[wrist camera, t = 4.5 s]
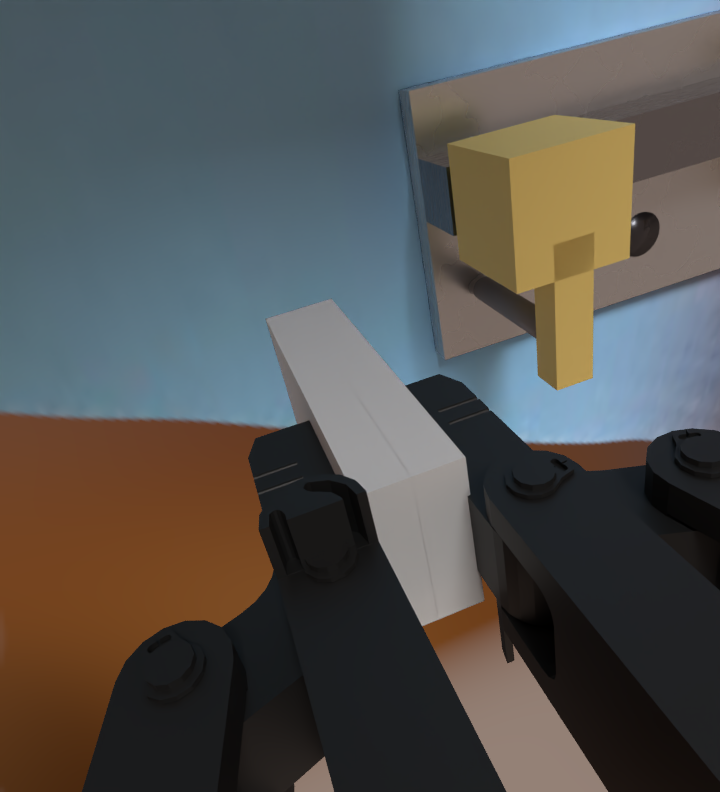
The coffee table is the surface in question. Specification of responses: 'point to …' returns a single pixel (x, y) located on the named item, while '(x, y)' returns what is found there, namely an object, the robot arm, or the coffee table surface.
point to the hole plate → (560, 98)
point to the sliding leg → (545, 227)
